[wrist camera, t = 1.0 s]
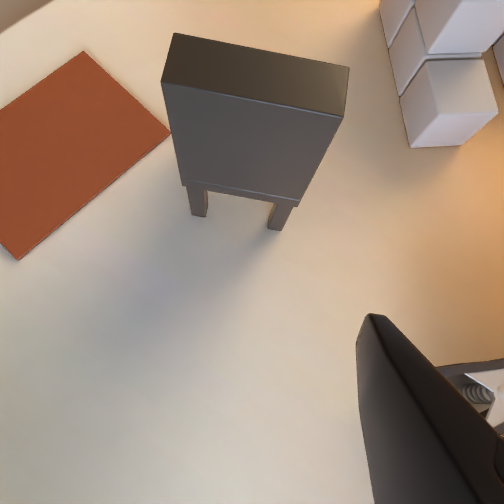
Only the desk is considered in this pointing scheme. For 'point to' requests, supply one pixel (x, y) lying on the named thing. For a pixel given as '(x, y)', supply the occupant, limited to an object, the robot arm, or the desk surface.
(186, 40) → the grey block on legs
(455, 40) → the puzzle cube
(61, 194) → the mat
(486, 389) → the clip-on lamp
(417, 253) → the desk surface
